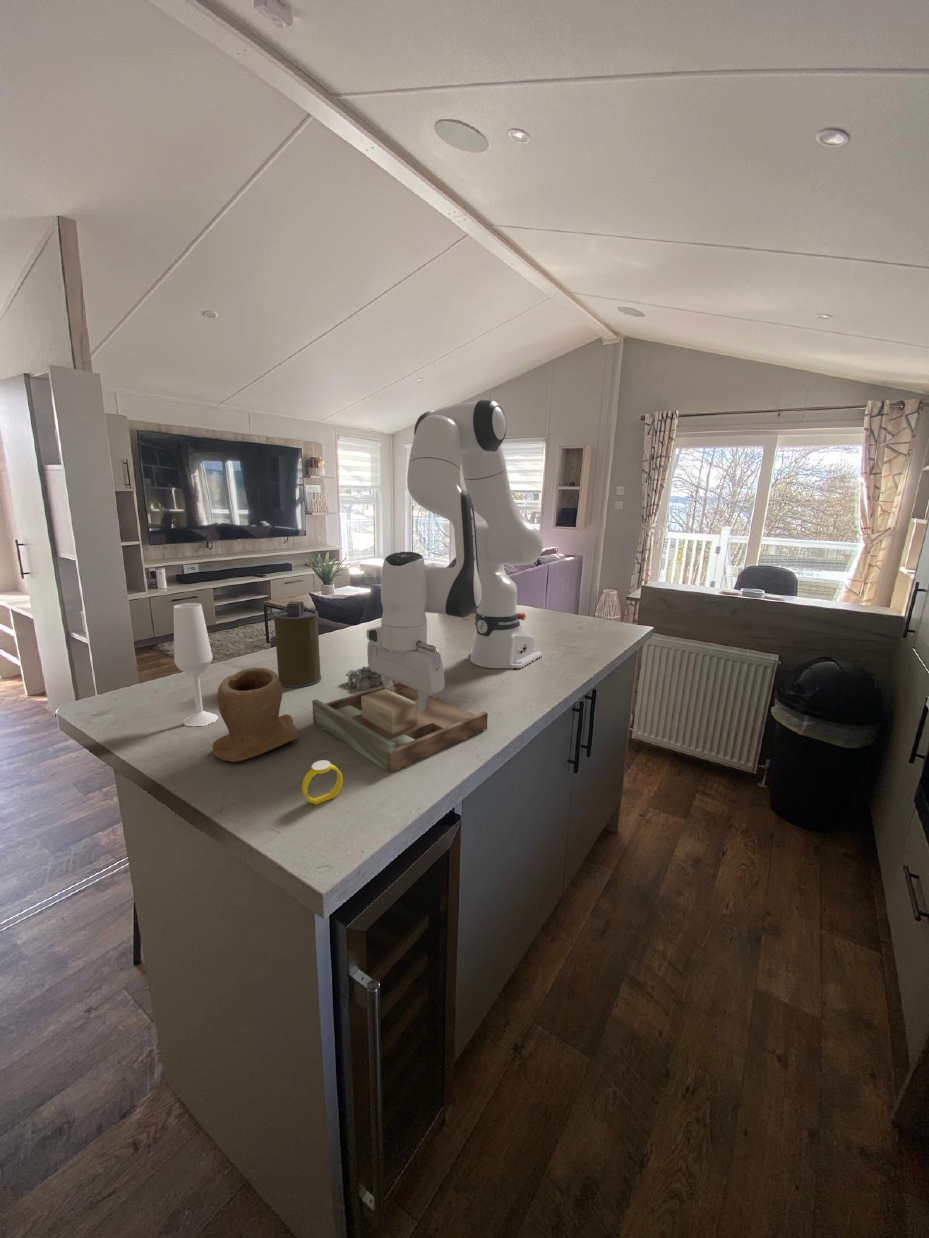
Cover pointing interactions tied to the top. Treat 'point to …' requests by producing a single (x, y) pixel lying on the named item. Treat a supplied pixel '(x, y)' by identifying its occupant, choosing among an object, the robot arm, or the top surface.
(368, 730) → the brown shallow open piece
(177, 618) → the champagne flute
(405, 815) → the top surface
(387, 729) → the block
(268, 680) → the clay pipe
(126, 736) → the top surface
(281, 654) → the canister
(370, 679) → the egg carton
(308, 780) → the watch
